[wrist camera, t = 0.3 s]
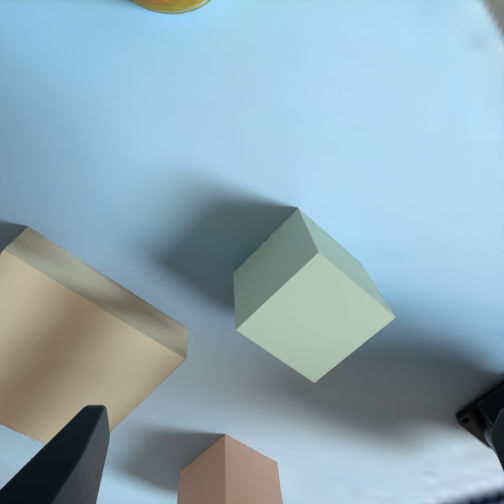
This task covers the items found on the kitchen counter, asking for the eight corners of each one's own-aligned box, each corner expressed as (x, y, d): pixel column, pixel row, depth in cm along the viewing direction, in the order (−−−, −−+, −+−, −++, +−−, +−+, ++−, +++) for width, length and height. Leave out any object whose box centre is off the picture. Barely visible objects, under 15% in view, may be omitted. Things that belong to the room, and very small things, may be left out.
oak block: (189, 324, 24) (185, 359, 21) (95, 418, 27) (81, 459, 24) (32, 222, 20) (3, 249, 18) (-57, 344, 23) (-93, 383, 20)
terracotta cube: (276, 461, 29) (286, 535, 25) (232, 495, 31) (233, 570, 27) (225, 433, 28) (225, 507, 23) (180, 470, 29) (173, 546, 25)
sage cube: (361, 262, 22) (395, 317, 18) (297, 319, 24) (314, 383, 19) (297, 207, 20) (318, 252, 16) (233, 272, 22) (235, 330, 17)
